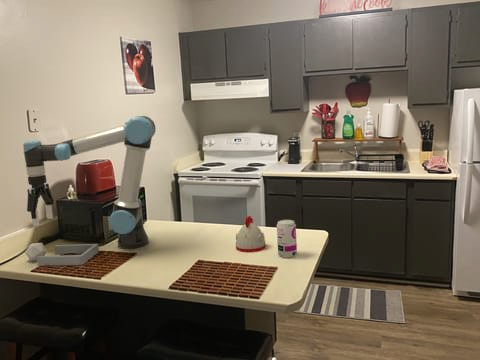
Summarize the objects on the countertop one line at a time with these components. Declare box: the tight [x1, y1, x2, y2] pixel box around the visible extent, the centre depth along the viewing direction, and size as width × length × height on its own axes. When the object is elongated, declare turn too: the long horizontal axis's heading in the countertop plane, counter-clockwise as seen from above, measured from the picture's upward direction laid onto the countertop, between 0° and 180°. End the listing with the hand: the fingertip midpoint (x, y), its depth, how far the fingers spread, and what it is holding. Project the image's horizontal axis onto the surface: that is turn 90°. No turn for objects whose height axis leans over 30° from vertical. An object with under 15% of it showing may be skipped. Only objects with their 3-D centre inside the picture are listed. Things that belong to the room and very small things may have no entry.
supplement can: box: [276, 219, 298, 259], centre depth 193 cm, size 8×8×15 cm
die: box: [24, 242, 48, 262], centre depth 209 cm, size 8×9×10 cm
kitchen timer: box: [235, 215, 267, 253], centre depth 207 cm, size 14×14×15 cm
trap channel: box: [36, 243, 100, 267], centre depth 208 cm, size 22×17×4 cm
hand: (43, 221), depth 207 cm, fingers open, 11 cm apart
